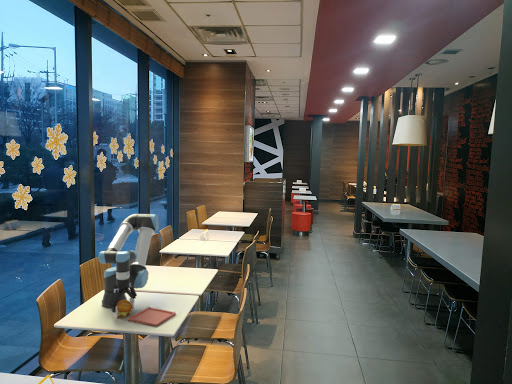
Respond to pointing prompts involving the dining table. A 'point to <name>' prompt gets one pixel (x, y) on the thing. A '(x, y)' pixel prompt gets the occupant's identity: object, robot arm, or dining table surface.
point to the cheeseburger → (124, 308)
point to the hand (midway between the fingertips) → (123, 313)
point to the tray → (152, 316)
